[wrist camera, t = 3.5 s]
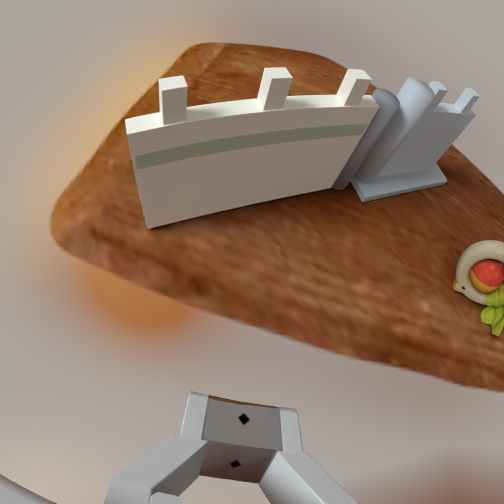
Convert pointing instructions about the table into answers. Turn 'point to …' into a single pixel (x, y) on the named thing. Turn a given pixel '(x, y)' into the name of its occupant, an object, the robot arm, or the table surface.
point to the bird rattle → (483, 280)
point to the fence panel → (251, 145)
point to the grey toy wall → (413, 141)
